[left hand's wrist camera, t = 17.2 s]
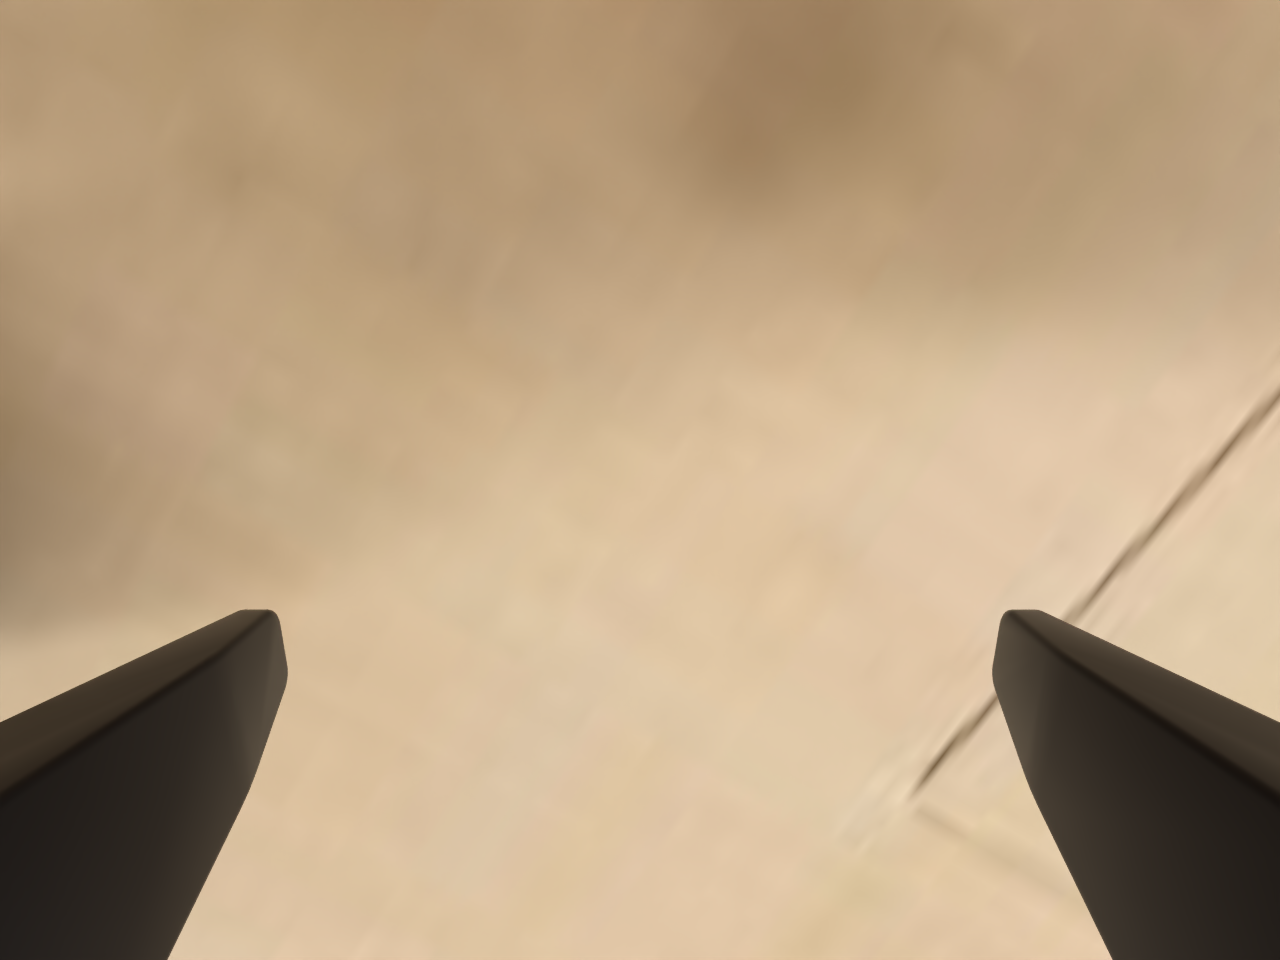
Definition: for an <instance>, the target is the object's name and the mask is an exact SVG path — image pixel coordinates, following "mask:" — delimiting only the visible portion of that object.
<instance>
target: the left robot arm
mask: <svg viewBox="0 0 1280 960" xmlns="http://www.w3.org/2000/svg"><path fill="white" fill-rule="evenodd" d="M287 676H288V668H287V661H286V656H285V650H284V644H283V638H282V632H281V626H280V621H279V619H278V616H277V614H276V613H275V612H273V611H272V610H240V611H237V612H235V613H233V614H231V615H229V616H227V617H225V618H222V619H220V620H218V621H216V622H214V623H212V624H210V625H207V626H205V627H203V628H201V629H199V630H197V631H195V632H192V633H190V634H188V635H186V636H184V637H182V638H180V639H178V640H175V641H173V642H171V643H169V644H167V645H165V646H163V647H160V648H158V649H156V650H154V651H152V652H150V653H148V654H145V655H143V656H141V657H139V658H137V659H135V660H133V661H131V662H128V663H126V664H124V665H122V666H120V667H118V668H116V669H113V670H111V671H109V672H107V673H105V674H103V675H101V676H98V677H96V678H94V679H92V680H90V681H88V682H86V683H84V684H81V685H79V686H77V687H75V688H73V689H71V690H69V691H66V692H64V693H62V694H60V695H58V696H56V697H54V698H51V699H49V700H47V701H45V702H43V703H41V704H39V705H37V706H34V707H32V708H30V709H28V710H26V711H24V712H22V713H19V714H17V715H15V716H13V717H11V718H9V719H7V720H5V721H2V722H0V960H167V959H168V957H169V955H170V953H171V951H172V949H173V947H174V945H175V943H176V941H177V939H178V937H179V935H180V933H181V931H182V929H183V927H184V924H185V922H186V920H187V918H188V916H189V914H190V912H191V910H192V908H193V906H194V904H195V902H196V900H197V898H198V896H199V894H200V892H201V890H202V887H203V885H204V883H205V881H206V879H207V877H208V875H209V873H210V871H211V869H212V867H213V865H214V863H215V861H216V859H217V857H218V855H219V852H220V850H221V848H222V846H223V844H224V842H225V840H226V838H227V836H228V834H229V832H230V830H231V828H232V826H233V824H234V822H235V820H236V818H237V815H238V813H239V811H240V809H241V807H242V805H243V803H244V801H245V798H246V796H247V794H248V792H249V790H250V787H251V784H252V782H253V779H254V777H255V774H256V771H257V768H258V766H259V763H260V760H261V757H262V754H263V751H264V748H265V745H266V742H267V740H268V737H269V734H270V731H271V728H272V725H273V722H274V719H275V716H276V714H277V711H278V708H279V705H280V702H281V699H282V696H283V693H284V690H285V687H286V683H287ZM992 676H993V683H994V687H995V690H996V693H997V696H998V699H999V702H1000V705H1001V708H1002V711H1003V714H1004V716H1005V719H1006V722H1007V725H1008V728H1009V731H1010V734H1011V737H1012V740H1013V742H1014V745H1015V748H1016V751H1017V754H1018V757H1019V760H1020V763H1021V765H1022V768H1023V771H1024V774H1025V777H1026V779H1027V782H1028V784H1029V787H1030V790H1031V792H1032V794H1033V796H1034V798H1035V801H1036V803H1037V805H1038V807H1039V809H1040V811H1041V813H1042V815H1043V818H1044V820H1045V822H1046V824H1047V826H1048V828H1049V830H1050V832H1051V834H1052V836H1053V838H1054V840H1055V842H1056V844H1057V846H1058V848H1059V850H1060V852H1061V855H1062V857H1063V859H1064V861H1065V863H1066V865H1067V867H1068V869H1069V871H1070V873H1071V875H1072V877H1073V879H1074V881H1075V883H1076V885H1077V887H1078V890H1079V892H1080V894H1081V896H1082V898H1083V900H1084V902H1085V904H1086V906H1087V908H1088V910H1089V912H1090V914H1091V916H1092V918H1093V920H1094V922H1095V924H1096V927H1097V929H1098V931H1099V933H1100V935H1101V937H1102V939H1103V941H1104V943H1105V945H1106V947H1107V949H1108V951H1109V953H1110V955H1111V957H1112V959H1113V960H1280V722H1278V721H1276V720H1273V719H1271V718H1269V717H1267V716H1265V715H1263V714H1261V713H1258V712H1256V711H1254V710H1252V709H1250V708H1248V707H1246V706H1243V705H1241V704H1239V703H1237V702H1235V701H1233V700H1231V699H1229V698H1226V697H1224V696H1222V695H1220V694H1218V693H1216V692H1214V691H1211V690H1209V689H1207V688H1205V687H1203V686H1201V685H1199V684H1196V683H1194V682H1192V681H1190V680H1188V679H1186V678H1184V677H1182V676H1179V675H1177V674H1175V673H1173V672H1171V671H1169V670H1167V669H1164V668H1162V667H1160V666H1158V665H1156V664H1154V663H1152V662H1149V661H1147V660H1145V659H1143V658H1141V657H1139V656H1137V655H1135V654H1132V653H1130V652H1128V651H1126V650H1124V649H1122V648H1120V647H1117V646H1115V645H1113V644H1111V643H1109V642H1107V641H1105V640H1102V639H1100V638H1098V637H1096V636H1094V635H1092V634H1090V633H1088V632H1085V631H1083V630H1081V629H1079V628H1077V627H1075V626H1073V625H1070V624H1068V623H1066V622H1064V621H1062V620H1060V619H1058V618H1055V617H1053V616H1051V615H1049V614H1047V613H1045V612H1043V611H1040V610H1008V611H1007V612H1005V613H1004V614H1003V616H1002V619H1001V621H1000V626H999V632H998V638H997V644H996V650H995V656H994V661H993V668H992Z"/></svg>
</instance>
